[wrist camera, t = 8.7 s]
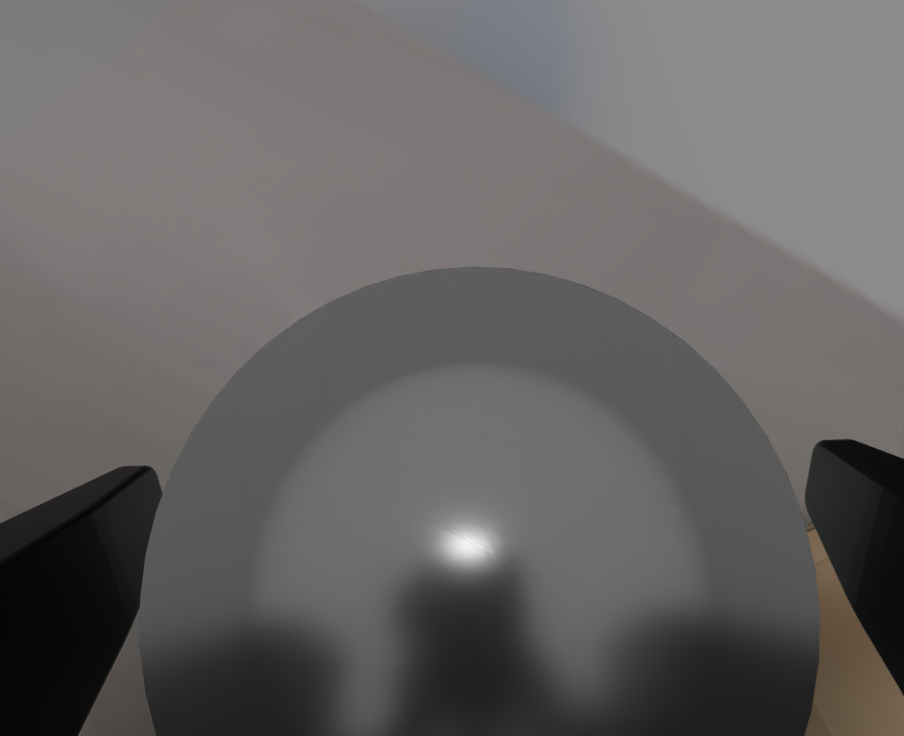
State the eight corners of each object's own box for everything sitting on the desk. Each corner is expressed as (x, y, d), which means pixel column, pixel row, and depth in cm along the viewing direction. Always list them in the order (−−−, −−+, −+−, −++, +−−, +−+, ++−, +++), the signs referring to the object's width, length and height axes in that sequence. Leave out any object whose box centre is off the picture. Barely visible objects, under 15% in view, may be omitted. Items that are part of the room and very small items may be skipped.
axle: (591, 627, 15) (976, 636, 3) (473, 724, 15) (378, 1210, 2) (501, 509, 16) (522, 172, 4) (389, 594, 16) (35, 493, 4)
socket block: (1028, 727, 15) (1129, 747, 12) (807, 829, 14) (867, 869, 12) (880, 496, 17) (941, 475, 14) (682, 579, 16) (713, 572, 14)
